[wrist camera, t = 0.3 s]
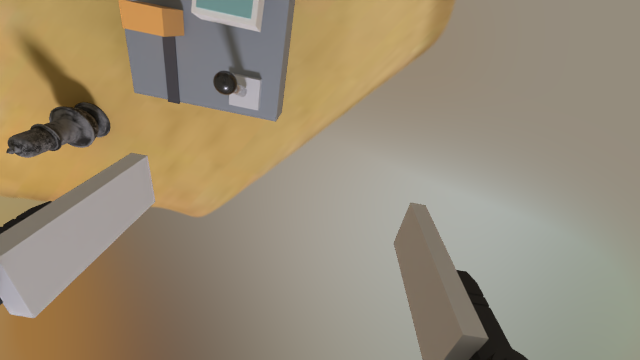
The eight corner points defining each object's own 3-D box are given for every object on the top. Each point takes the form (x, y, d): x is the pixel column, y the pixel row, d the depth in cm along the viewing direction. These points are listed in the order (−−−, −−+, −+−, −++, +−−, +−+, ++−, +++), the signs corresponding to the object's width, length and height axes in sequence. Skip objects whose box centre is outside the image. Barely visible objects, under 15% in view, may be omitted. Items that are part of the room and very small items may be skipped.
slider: (145, 2, 29) (118, -2, 25) (182, 10, 29) (161, 8, 25) (148, 27, 30) (122, 27, 26) (184, 35, 30) (164, 36, 26)
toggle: (235, 80, 32) (211, 65, 24) (253, 84, 32) (235, 70, 25) (232, 99, 32) (208, 90, 25) (251, 103, 32) (231, 95, 25)
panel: (126, -143, 26) (79, -180, 22) (307, -100, 27) (300, -127, 22) (153, 87, 37) (126, 96, 33) (281, 114, 38) (273, 126, 33)
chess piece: (71, 93, 39) (-28, 118, 28) (113, 111, 40) (33, 141, 29) (71, 128, 41) (-19, 163, 31) (111, 144, 42) (37, 183, 32)
